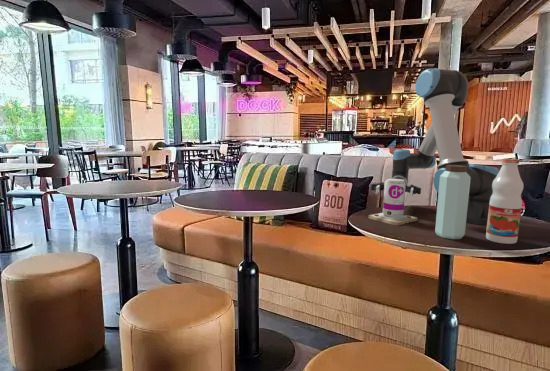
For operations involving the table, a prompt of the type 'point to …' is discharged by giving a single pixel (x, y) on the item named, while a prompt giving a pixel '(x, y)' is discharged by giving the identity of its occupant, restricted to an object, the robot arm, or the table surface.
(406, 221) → the dock board
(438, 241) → the table surface
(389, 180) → the supplement can
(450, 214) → the water bottle
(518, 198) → the fruit juice
